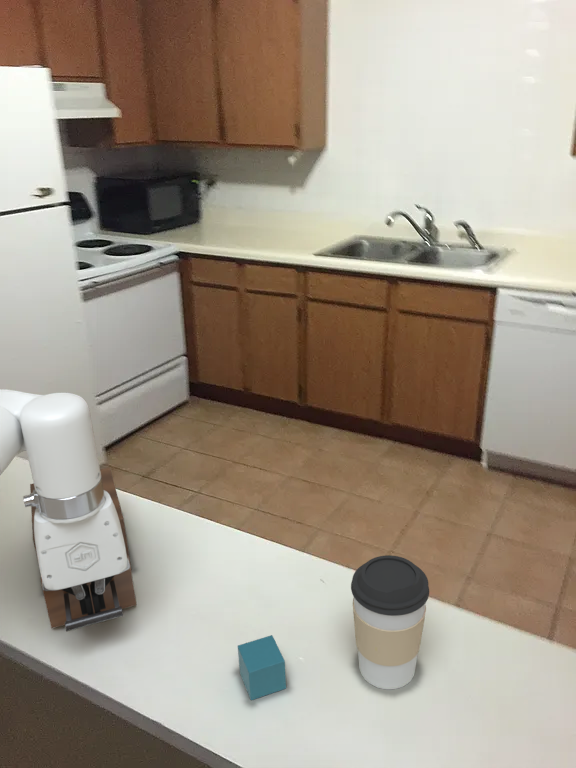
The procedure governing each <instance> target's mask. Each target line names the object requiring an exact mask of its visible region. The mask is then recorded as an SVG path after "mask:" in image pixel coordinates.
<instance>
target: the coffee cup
mask: <svg viewBox="0 0 576 768" xmlns="http://www.w3.org/2000/svg"><path fill="white" fill-rule="evenodd" d="M350 590H351V594H352V596H353V597H352V598H353V599H352V614H353V621H354V622H353V624H354V636H355V645H356V648H357V656H358V657H357V658H358V665H359V666H358V667H359V668H358V669H359V672H360V675H361V677H362V678H363V679H364V681H366V682H367V683H368V684H369V685H371V686H373V687H376V688H378V689H382V690H397V689H401V688H403V687H404V686H407V685H408V684H409V683H411V681H412V680H413V679H414V676H415V673H416V668H417V661H418V654H419V652H420V648H421V641H422V636H423V631H424V624H425V618H426V612H427V605H426V603H427V601H428V600H429V598H430V587H429V580H428V576H427V575H426V573H425V571H424V570H422V569H421V568H420V567H419V566H417V565H416V564H415V563H414V562H413V561H411V560H409V559H407V558H405V557H402V556H398V555H392V554H391V555H390V554H387V555H380V556H375V557H373V558H371V559H369V560H368V561H366V562H365V563H363V564H361V565H360V566H359V567H358V568H356V570H355V572H354V573H353V575H352V578H351V583H350Z"/></svg>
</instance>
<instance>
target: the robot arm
mask: <svg viewBox="0 0 576 768" xmlns="http://www.w3.org/2000/svg"><path fill="white" fill-rule="evenodd" d="M93 427H94V426H93V421H92V415H91V409H90V406H89V404H88V402H87V401H86V400H85V398H83V397H82V396H81V395H79V394H76V393H73V392H53V393H46V394H36V393H31V392H25V391H20V390H14V389H6V388H0V476H2V474H3V473H4V472H5V470H6V469H7V468H8V467H9V466H10V464H11V463H12V461H13V460H14V459H15V457H16V456H17V455H19V454H21V453H23V452H26V455H27V459H28V463H29V464H28V465H29V469H30V473H31V477H32V482H33V483H34V487H35V490H33V493H31V492H29V494H26V495H23V496H22V497H23V504H24V508H29V507H31V506H32V507H34V506H36V509H35V515H34V536H35V544H36V551H37V555H36V558H37V557H38V560H37V563H39V564H38V569H39V572H40V578H41V577H42V585H41V589H42V588H43V590H44V591H57V590H63V591H65V592H67V593H70V594H72V595H75V597H76V599H78V600H79V602H80V607H81V612H82V615H85V614H88V615H91V614H94V612H93V606H94V611H95V613H98V612H101V611H100V610H102V609H106V607H105V602H104V596H103V593H104V591H105V587H106V586H107V585H108V583H109V582H110V581H111V580H112V578H113V577H114V575H116V574H117V575H118V574H120V573H122V572H124V571H126V570H128V569H129V568H130V564H129V560H128V558H127V554H126V548H125V543H124V538H123V534H122V530H121V525H120V521H119V518H118V514H117V511H116V508H115V506H114V503H113V501H112V499H111V497H110V495H109V493H108V492H106V491H105V490H104V489H103V484H102V478H101V472H100V469H101V467H100V461H99V456H98V450H97V443H96V438H95V432H94V428H93ZM36 551H35V552H36ZM88 582H91V584H90V590H91V595H92V601H93V606H92V601H91V596H90V591H89V586H88V585H87V584H86V583H88ZM43 590H42V591H43Z"/></svg>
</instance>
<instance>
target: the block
mask: <svg viewBox="0 0 576 768" xmlns="http://www.w3.org/2000/svg"><path fill="white" fill-rule="evenodd" d="M237 657H238V668H239V674H240V677H241V679H242V681H243V684H244V687H245V689H246V692H247V694H248V697H249V700H250V701H254V700H257V699H259V698H263V697H265V696H268V695H271V694H274V693H277V692H279V691H283V690H286V689H287V681H286V680H287V678H286V660H285V658H284V656H283V654H282V652H281V650H280V648H279V646H278V644H277V642H276V640H275V637H274V636H273V635H272V634H271V635H268V636H267V635H266V636H264V637H261V638H257V639H254V640H251V641H248V642H245V643H241V644H239V645H237Z"/></svg>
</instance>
